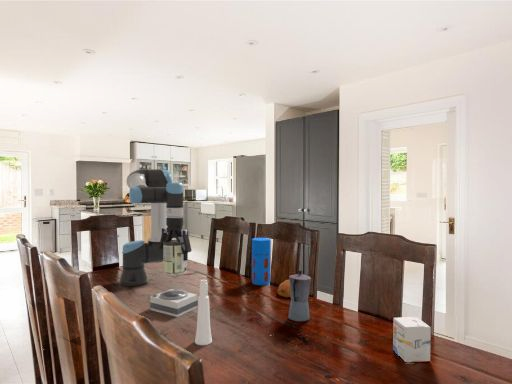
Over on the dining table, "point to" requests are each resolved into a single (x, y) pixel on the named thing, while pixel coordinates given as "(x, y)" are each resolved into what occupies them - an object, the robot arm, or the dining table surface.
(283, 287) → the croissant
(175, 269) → the coffee can
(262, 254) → the thermos
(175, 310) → the kitchen scale
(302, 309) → the moka pot
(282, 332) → the dining table surface
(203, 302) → the cosmetic bottle
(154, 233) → the robot arm
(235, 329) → the dining table surface
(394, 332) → the ink box
